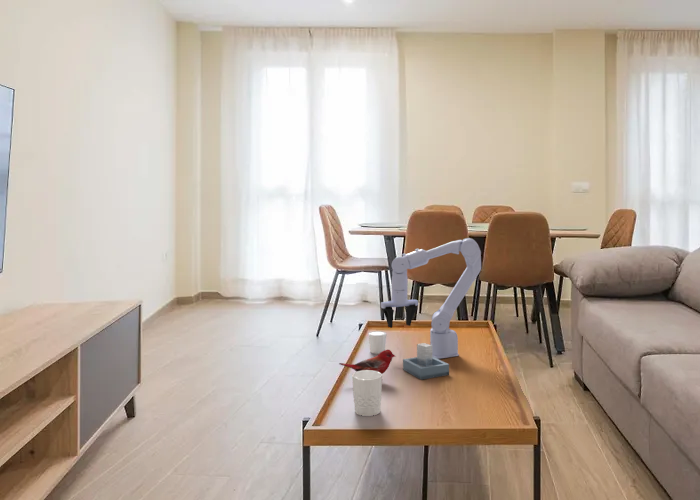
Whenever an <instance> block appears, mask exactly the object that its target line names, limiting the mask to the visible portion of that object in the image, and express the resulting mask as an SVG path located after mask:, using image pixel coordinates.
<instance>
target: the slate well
mask: <svg viewBox="0 0 700 500" xmlns="http://www.w3.org/2000/svg"><path fill="white" fill-rule="evenodd" d="M432 365H433V366H427V367H421V366H419V365H417V356H415V357H408V358H403V359H402V369H403V371H405V372H406V373H408V374H409V375H412V376H414V377H415V378H416V379H417V378H418V379H419V380H421V381H422V380H427V379H433V378H440V377H445V376H450V363H447V362H445V361H444V360H441V359H437V358H435V357H433V356H432Z"/></svg>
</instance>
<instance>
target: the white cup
mask: <svg viewBox="0 0 700 500" xmlns="http://www.w3.org/2000/svg"><path fill="white" fill-rule="evenodd" d="M351 380H352V392H353V393H352V395H353V402H354V403H353V404H354V412H355V414H357V415H358V416H361V415H362V417H373V415H374V416H376V415H378V414H380V412H381V401H382V387H383V385H382V384H383V383H382V382H383V374H381V373H380V372H377V371H373V370H362V371H357V372H356V371H355V372H353V373H352V375H351Z"/></svg>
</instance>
